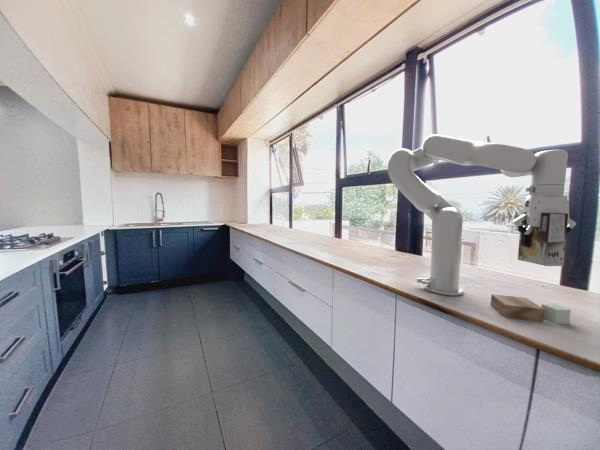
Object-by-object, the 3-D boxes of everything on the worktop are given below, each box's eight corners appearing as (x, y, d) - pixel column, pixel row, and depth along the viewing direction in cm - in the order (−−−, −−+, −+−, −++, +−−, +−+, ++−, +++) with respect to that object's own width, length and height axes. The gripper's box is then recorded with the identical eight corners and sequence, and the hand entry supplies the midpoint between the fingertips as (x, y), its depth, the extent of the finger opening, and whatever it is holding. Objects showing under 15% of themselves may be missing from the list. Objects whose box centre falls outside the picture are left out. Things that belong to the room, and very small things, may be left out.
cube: (555, 323, 67) (556, 309, 66) (540, 317, 71) (541, 304, 70) (569, 323, 67) (570, 309, 67) (553, 317, 71) (554, 304, 71)
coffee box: (565, 266, 73) (570, 213, 72) (545, 266, 72) (551, 212, 71) (533, 259, 82) (537, 212, 81) (515, 259, 81) (520, 212, 80)
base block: (504, 318, 70) (505, 304, 70) (490, 306, 79) (491, 294, 79) (543, 322, 68) (544, 309, 67) (524, 310, 76) (525, 297, 76)
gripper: (522, 190, 73) (516, 247, 75) (592, 190, 70) (585, 251, 71) (506, 191, 81) (502, 244, 82) (569, 192, 77) (563, 246, 79)
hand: (540, 246), depth 77 cm, fingers closed on coffee box, 7 cm apart
